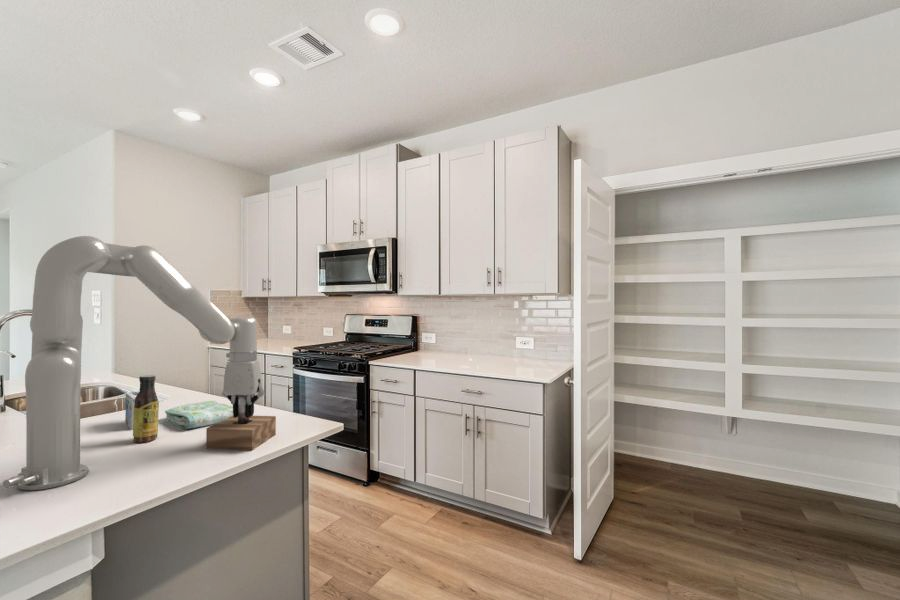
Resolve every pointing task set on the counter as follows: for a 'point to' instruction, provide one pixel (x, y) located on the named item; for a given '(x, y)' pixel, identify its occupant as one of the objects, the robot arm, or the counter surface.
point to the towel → (199, 414)
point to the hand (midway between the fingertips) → (243, 415)
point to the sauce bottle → (146, 411)
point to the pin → (242, 409)
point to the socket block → (240, 433)
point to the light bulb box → (130, 408)
